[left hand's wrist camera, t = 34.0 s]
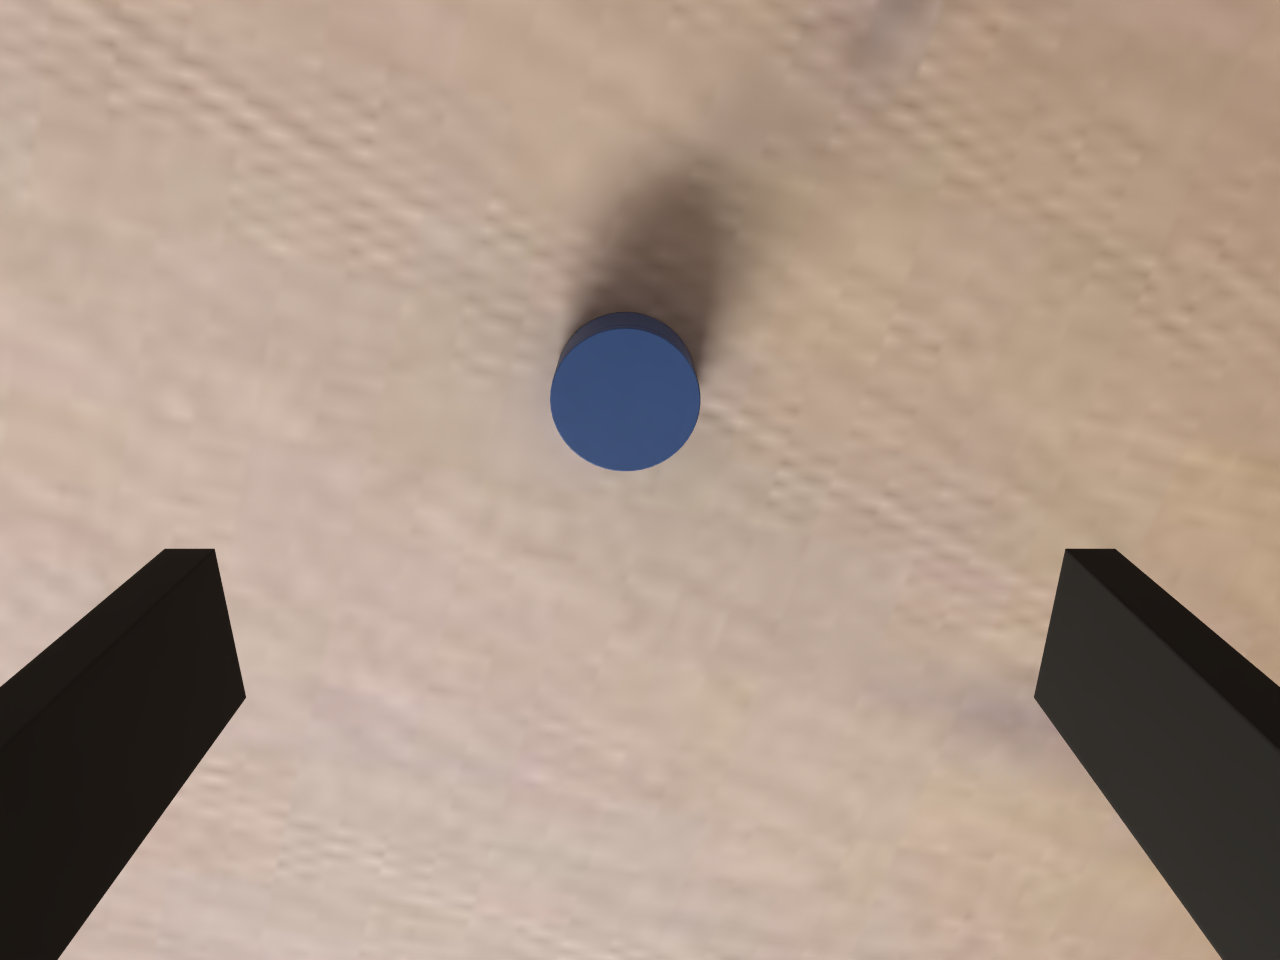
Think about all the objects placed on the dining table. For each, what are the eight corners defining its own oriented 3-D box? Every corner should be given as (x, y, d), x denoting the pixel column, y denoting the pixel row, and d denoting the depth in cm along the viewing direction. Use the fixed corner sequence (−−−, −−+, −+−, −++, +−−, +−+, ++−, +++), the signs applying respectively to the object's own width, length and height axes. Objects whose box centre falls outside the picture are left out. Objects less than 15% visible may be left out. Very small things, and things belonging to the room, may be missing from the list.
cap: (659, 465, 25) (661, 492, 23) (535, 413, 24) (527, 437, 22) (718, 346, 24) (726, 365, 22) (588, 288, 23) (585, 302, 21)
